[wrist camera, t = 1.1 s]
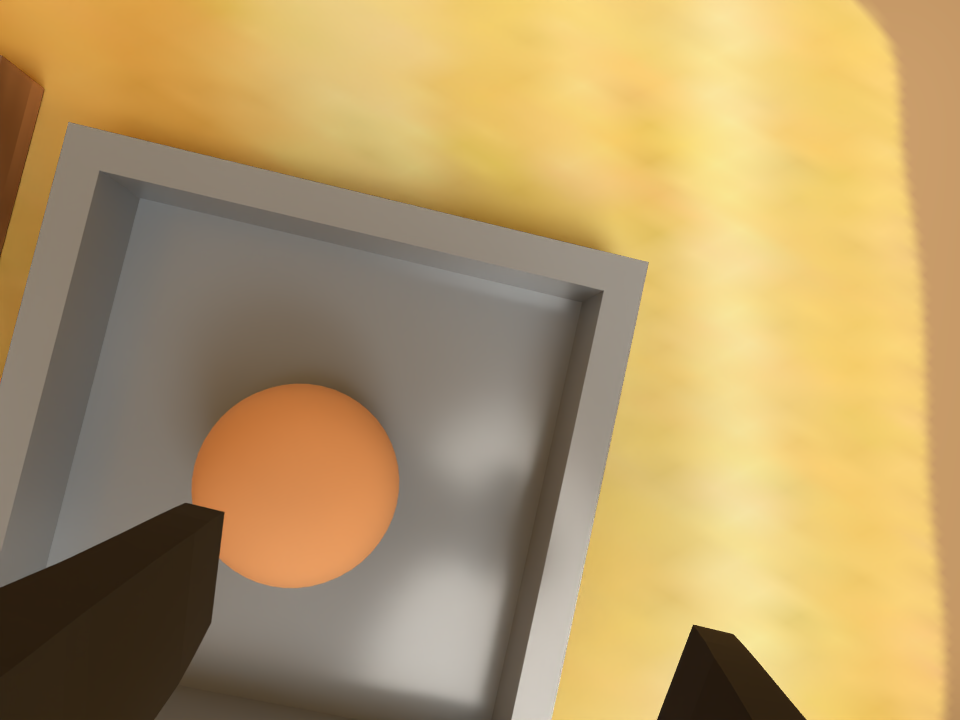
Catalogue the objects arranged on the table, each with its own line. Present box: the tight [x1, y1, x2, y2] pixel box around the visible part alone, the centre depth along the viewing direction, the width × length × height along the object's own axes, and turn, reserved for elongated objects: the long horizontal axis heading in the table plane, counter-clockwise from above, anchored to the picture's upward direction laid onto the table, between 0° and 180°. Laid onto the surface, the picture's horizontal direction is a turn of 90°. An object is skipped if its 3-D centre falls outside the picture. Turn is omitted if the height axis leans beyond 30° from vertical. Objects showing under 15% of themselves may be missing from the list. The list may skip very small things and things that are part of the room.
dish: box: [0, 122, 649, 720], centre depth 20 cm, size 15×15×3 cm
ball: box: [191, 384, 399, 588], centre depth 18 cm, size 5×5×5 cm
